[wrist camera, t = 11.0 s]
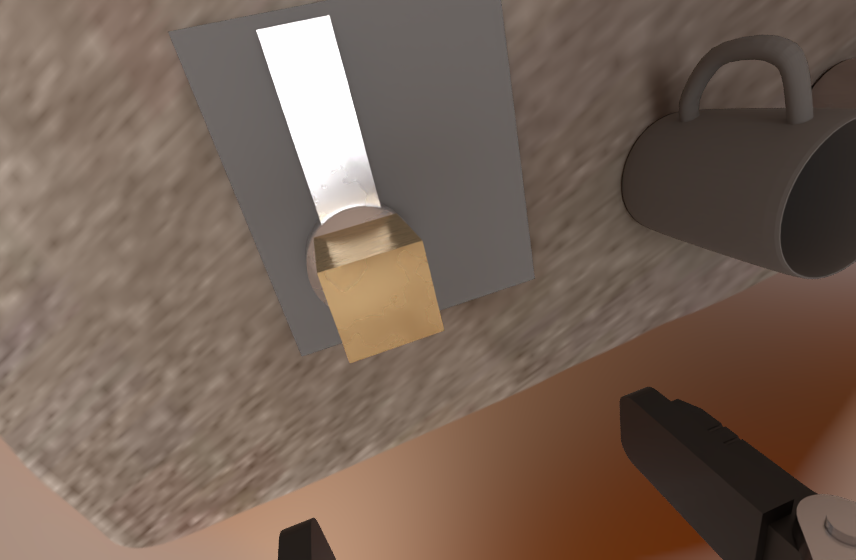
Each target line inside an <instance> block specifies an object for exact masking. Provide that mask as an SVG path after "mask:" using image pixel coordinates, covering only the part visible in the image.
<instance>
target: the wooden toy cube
mask: <svg viewBox="0 0 856 560" xmlns="http://www.w3.org/2000/svg"><path fill="white" fill-rule="evenodd" d="M314 249H315V259H316V269H317V275H318V277H319V280H320V283H321V286H322V288H323V291H324V294H325V297H326V299H327V302H328V305H329V308H330V310H331V313H332V316H333V319H334V321H335V324H336V327H337V329H338V332H339V335H340V338H341V340H342V343H343V346H344V349H345V351H346V354H347V357H348V360H349V362H350V363H352V362H355V361H358V360H361V359H364V358H367V357H370V356H372V355H375V354H378V353H381V352H384V351H387V350H390V349H393V348H395V347H398V346H401V345H404V344H407V343H410V342H413V341H416V340H418V339H421V338H424V337H427V336H430V335H433V334H436V333H439V332H441V331H444V328H443V323H442V319H441V315H440V311H439V307H438V303H437V299H436V294H435V290H434V286H433V282H432V278H431V274H430V269H429V265H428V261H427V257H426V253H425V249H424V245H423V241H422V240H421V238H420V237H419V236H418V235H417V234H416V233H415V232H414V231H413V230H412V229H411V228H410V227H409V226H408V225H407V224H406V223H405V222H404V221H403V220H402V219H401V217H400V216H399V215H398V214H397V213H396V214H392V215H389V216H385V217H382V218H379V219H375V220H372V221H368V222H365V223H362V224H358V225H355V226H351V227H348V228H345V229H341V230H338V231H335V232H331V233H328V234H324V235H321V236H318V237H314Z"/></svg>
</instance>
